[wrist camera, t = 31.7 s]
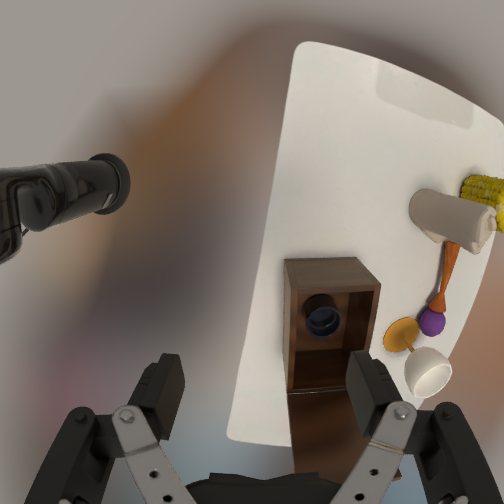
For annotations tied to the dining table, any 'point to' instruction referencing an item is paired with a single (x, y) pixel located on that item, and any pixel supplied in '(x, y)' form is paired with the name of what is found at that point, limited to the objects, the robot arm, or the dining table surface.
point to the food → (486, 195)
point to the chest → (345, 339)
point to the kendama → (440, 295)
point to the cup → (418, 359)
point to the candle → (453, 219)
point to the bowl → (322, 316)
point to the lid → (325, 434)
